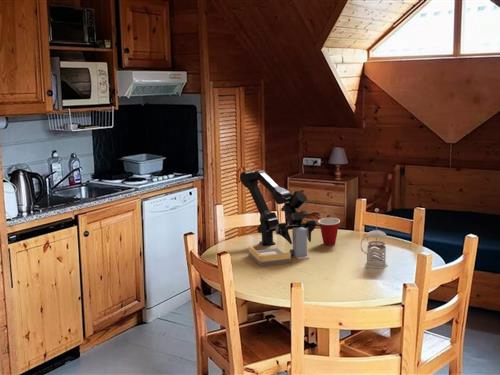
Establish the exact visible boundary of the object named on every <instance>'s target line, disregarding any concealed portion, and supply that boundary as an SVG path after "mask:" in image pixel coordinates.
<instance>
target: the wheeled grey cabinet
mask: <svg viewBox="0 0 500 375" xmlns="http://www.w3.org/2000/svg"><path fill="white" fill-rule="evenodd" d="M291 230H292V234H291V235H292V249H289V252H290V253H291V257H294V258H296V259H297V260H305V259H306V260H307V259H310V257H309V256H308V246H307V245H308V238H307V229H305V228H303V227H297V228H292V229H291Z"/></svg>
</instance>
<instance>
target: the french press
mask: <svg viewBox="0 0 500 375" xmlns="http://www.w3.org/2000/svg"><path fill="white" fill-rule="evenodd" d="M374 212H376V218H375V219H376V220H375V221H376V224H375V225H376V226H375V227H376V229H375V230H372V231H371V230H370V231H369V232H367V234H366V235H367V236H364V237H363V238H362V239H361V241H360V244H362V243H363V241H364V240H365V239H366V241H368V242H367V244H368V245H367V247H366V248H367V252H366V251H365V250H364V249H363V247H362V246H360V249H361V251H363V253H364V254H365V255H366V262H365V264H364V266H365V267H367V268H370V269H385V268H388V266H389V265H388V263H387V262H386V254H387V250H386V249H387V247H386V243H385V242H384V241H380V240H377V238H384V237H386V236H387V234H386V233H385V232H384V231H381V230H379V229H378V212H380V209H379V208H375V209H374ZM369 237H372V238H376V239H375V240H373V241H372V240H371V241H369V240H368V239H369Z"/></svg>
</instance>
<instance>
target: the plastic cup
mask: <svg viewBox="0 0 500 375" xmlns="http://www.w3.org/2000/svg"><path fill="white" fill-rule="evenodd" d="M340 222H341V220H340V219H339V218H336V217H324V218H319V219H318V220H317V223H318V224H319V228H320V233H321V238H322V243H323V245H325V246H334V245H336V242H337V237H338V229H339V225H340Z"/></svg>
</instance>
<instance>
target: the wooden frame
mask: <svg viewBox="0 0 500 375" xmlns="http://www.w3.org/2000/svg"><path fill="white" fill-rule="evenodd" d="M248 256H249V257H250V258H251V259H252V260H253V261H254V262H255V261H256V262H257V263H258V264H257V265H258V266H259V267H265V266H266V267H267V266H268V265H269V266H275V265H284V264H291V263H292V261H291V260H292V259H291V257H292V256H291V253H290V251H287V252H283V251H282V250H280V249H279V248H278V247H276V248H275V247H274V248H267V249H258V250H257V249H255V248H254V247H253V246H252V245H248ZM256 262H255V263H256ZM269 266H268V267H269Z"/></svg>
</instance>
